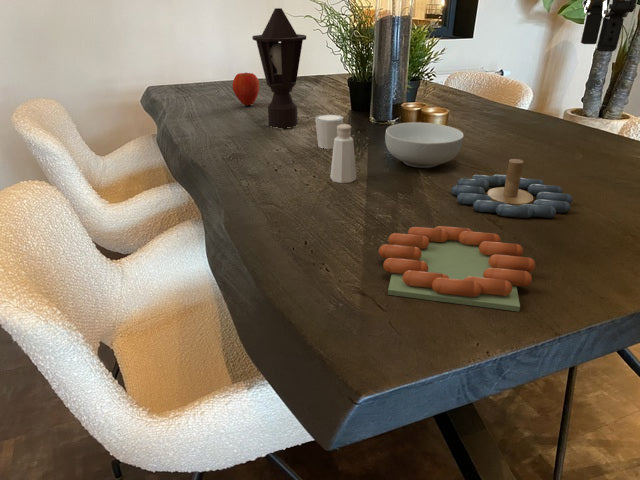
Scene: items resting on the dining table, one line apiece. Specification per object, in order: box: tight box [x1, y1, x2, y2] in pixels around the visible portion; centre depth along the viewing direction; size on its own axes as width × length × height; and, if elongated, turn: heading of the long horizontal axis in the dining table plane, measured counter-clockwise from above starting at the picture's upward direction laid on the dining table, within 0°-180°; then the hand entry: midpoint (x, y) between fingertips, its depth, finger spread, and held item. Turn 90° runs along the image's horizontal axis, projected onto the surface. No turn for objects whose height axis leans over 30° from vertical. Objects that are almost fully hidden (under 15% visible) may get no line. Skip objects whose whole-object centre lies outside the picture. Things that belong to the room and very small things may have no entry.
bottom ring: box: [450, 174, 573, 219], centre depth 89 cm, size 21×17×2 cm
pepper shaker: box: [329, 123, 357, 184], centre depth 98 cm, size 5×5×11 cm
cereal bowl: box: [384, 121, 465, 169], centre depth 107 cm, size 17×17×7 cm
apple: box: [232, 71, 260, 106], centre depth 158 cm, size 9×8×11 cm
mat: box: [387, 240, 521, 313], centre depth 68 cm, size 16×16×1 cm
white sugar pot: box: [314, 114, 344, 150], centre depth 119 cm, size 7×7×7 cm
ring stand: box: [486, 158, 534, 206], centre depth 88 cm, size 8×8×8 cm
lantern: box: [251, 7, 307, 128], centre depth 131 cm, size 15×15×30 cm
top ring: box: [378, 225, 536, 297], centre depth 68 cm, size 21×17×2 cm
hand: (596, 47), depth 64 cm, fingers open, 8 cm apart
